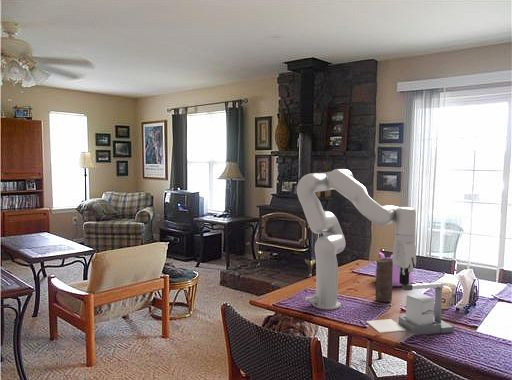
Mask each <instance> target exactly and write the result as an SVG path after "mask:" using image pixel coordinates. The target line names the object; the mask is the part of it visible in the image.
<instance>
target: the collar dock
mask: <svg viewBox="0 0 512 380" xmlns="http://www.w3.org/2000/svg"><path fill="white" fill-rule="evenodd" d="M434 290H435V292H434V314H433V324H431V325H420V326H415V325H414V324H412V323H411V322H409V321H408V320H406V315H399V316H398V324H399V325H400V326H402V327H403V328H404V329H406V331H408V332H409V333H411V334H413V335H414V336H415V335H416V336H418V335H428V334H439V333H441V334H445V333H454V330H455V329H454V326H453V325H451V324H449V323H447V322H446V321H444V320H442V307H443V306H442V305H443V304H442V303H443V302H442V301H443V300H442V299H443V288H434Z"/></svg>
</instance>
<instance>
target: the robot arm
mask: <svg viewBox="0 0 512 380" xmlns="http://www.w3.org/2000/svg"><path fill="white" fill-rule="evenodd" d="M296 186H297V187H296V195H297V198H298V201H299V203H300V204H301V207H302V210H303V213H304V216H305V218H306V221H307V224H308V226H309V229H310V231H311V232H312V233H314V234H317V235H319V234H322V236H320V237H318V239H317V240H316V241H315V244H314V255H315V267H316V268H315V273H316V274H315V293H313V295H312V296H305V301H306V302H310V303H311V304H312V306H313V307H315V308H317V309H321V310H327V311H328V310H329V311H330V310H332V311H333V310H337V309H340V307H341V306H342V303H341V302H340V301H339V300H338V288H339V286H338V280H339V276H338V275H339V273H338V272H339V268H338V267H339V266H338V265H339V264H338V260H337V254H340V253H341V252H343V251H344V250H345V248H346V239H345V235H344V233H343V230H342V227H341V225H340V222H339V220H338V218H337V216H336V215H335V214H334V213H333V212H331V211H328V210H325V209H323V205H322V203H321V201H320V199H319V198H318V196H317V195H316V193H318V192H325V191H331V190H335V191H336V192H338V193H339V194H340V195H341V196H343V197H345V198H346V199H348V201H350V202H351V203H352V204H353V206H354V207H355V208H356V209H357V211H358V212H359V213H360V214H361V215H363V216H364V217H365V218H367V220H369V221H370V222H372V223H373V224H375V225H378V226H381V227H383V226H388V225H391V224H394V225H395V226H394V227H395V230H394V231H395V232H394V242H393V247H392V255H393V259H392V261H393V264H395V265H396V266H397V267H398V268H399V273H400V280H399V283H400V284H402V285H403V284H409V275H410V272H412V273H414V270H415V268H416V266H417V265H416V264H417V251H416V250H417V249H416V230H417V229H416V226H417V224H416V223H417V221H416V220H417V211H416V208H414V207H410V206H409V207H408V206H400V207H399V206H395V205H390V204H387V205H380V203H378V202H377V201H376V200H374V199H373V198H372V197H370V195H369V194H368V190H367V188H366V186H364V185H363V184H362V183H360V182H359V181H358V180H357V179H355V178H354V175H353V173H352V171H350V170H349V169H346V168H335V169H333V170H331V171H326V172H313V173H308V174H305V175H303V176H302V177H301V178H300V180H299V181H298V183H297V185H296Z"/></svg>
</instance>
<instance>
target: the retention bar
mask: <svg viewBox="0 0 512 380" xmlns="http://www.w3.org/2000/svg"><path fill="white" fill-rule="evenodd" d="M401 287H402V290H404V291H413V290H421V289H435V288H442V289H444V283H443V282H441V281H435V282H427V283H411V284H403V285H402V286H401Z"/></svg>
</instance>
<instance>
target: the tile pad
mask: <svg viewBox="0 0 512 380" xmlns="http://www.w3.org/2000/svg"><path fill="white" fill-rule="evenodd" d="M366 324H368V325H369V326H370V327H372V328H373V329H374V330H375V331H376V332H378V333H379V334H386V333H387V334H388V333H396V332H406V331H407V329H406V328H404V327H403V326H401V325H400V324H399V323H398V322H396V321H395V320H393V319H392V318H389V319H388V318H387V319H377V320H375V319H373V320H366Z"/></svg>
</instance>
